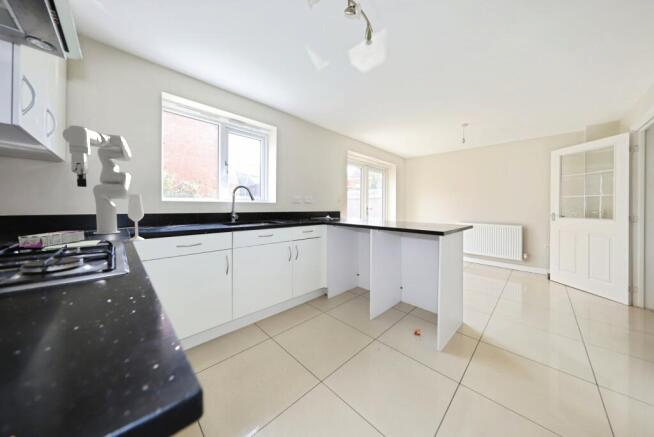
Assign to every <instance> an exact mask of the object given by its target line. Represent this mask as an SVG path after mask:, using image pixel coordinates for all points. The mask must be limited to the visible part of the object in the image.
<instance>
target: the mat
mask: <svg viewBox="0 0 654 437" xmlns="http://www.w3.org/2000/svg"><path fill="white" fill-rule="evenodd" d="M100 242H101V239H99V240H96V239H95V240H81V241H75V242H69V243H64V244H58V245H52V246H46V247H42V250H54V249H63V248H62V247H64V246H65V245H67V248H66V249H69V248H83V247H85V248H86V247H94V246H96V245H97V244H99V243H100Z"/></svg>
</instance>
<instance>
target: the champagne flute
mask: <svg viewBox="0 0 654 437" xmlns="http://www.w3.org/2000/svg"><path fill="white" fill-rule="evenodd" d="M142 198H143V197H142V194H134V193H132V194H131V193H130V194H129V197H128V207H127V217H128V218H129V219H130V220H132V221H133V222H134V232H135V234H134V236H133V237H132V238H130V239H129V241H130V242H131V241H143V240H145V238H143V237H141V236H139V228H138V227H139V223H138V222H139V221H141V220H142V219H143V218H144V216H145V214H144V213H145V212H144V206H143V199H142Z"/></svg>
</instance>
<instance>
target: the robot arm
mask: <svg viewBox="0 0 654 437" xmlns="http://www.w3.org/2000/svg"><path fill="white" fill-rule="evenodd" d="M62 137H63V140H65V141H66V142H67V143H68V151H69V152H68V153H69V154H71V156H70V158H71V160H70V161H71V164H70V166H71V172H72V173H74V174H76V184H77V185H76V186H77V187H78V188H80V187H82V188H87V186H88V185H87V174H89V156H91V147H95V148H96V147H98V149H97V156H98V159H99V161H100V163H101V166H102V168H101V172H100V176H99V183H100V184H95V185H94V186H93V187H92V192H93V196H94V200H95V201H94V202H95V211H96V231H94V232H93V234H94V235H110V234H111V235H112V234H120V233H121V230H118V221H117V220H118V216H117V215H118V214H117V205H116V203H114V202H113V201H112V200H127V199H129V194H131V188H132V183H133V179H132V175H130V173H129V172H124V171H120V167H119V165H118V164H117V163H116V162H114V161H122V162H123V161H124V162H128V161H130V160H131V159H132V153H131V149H130V148H129V145H128V142H127V141H126V139H125V138H124V137H123V136H122V135H116V134H108V133H103V132H98V131H93V130H90V129H88V128H86V127H83V126H81V125H69V126H68V127H67V128H65V129H63V131H62Z"/></svg>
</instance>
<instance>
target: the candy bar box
mask: <svg viewBox="0 0 654 437" xmlns="http://www.w3.org/2000/svg"><path fill="white" fill-rule="evenodd" d="M85 237H86V236H85V231H84V230H63V231H56V232H55V231H54V232H46V233H38V234H30V235H23V236H18V237H17V238H18V245H19V246H18V247H19V248H20V247H24V248H45V247H48V246H52V245H58V244H64V243H69V242H79V241H86V240H85Z"/></svg>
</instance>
